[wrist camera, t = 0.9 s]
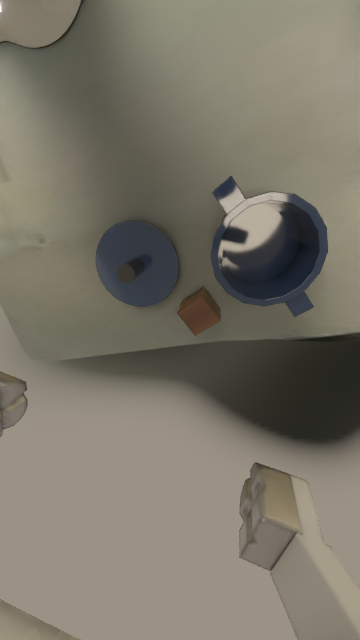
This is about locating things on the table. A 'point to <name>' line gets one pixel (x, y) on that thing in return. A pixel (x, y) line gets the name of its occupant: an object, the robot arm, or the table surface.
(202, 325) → the block
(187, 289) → the table surface
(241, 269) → the pot
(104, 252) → the lid
